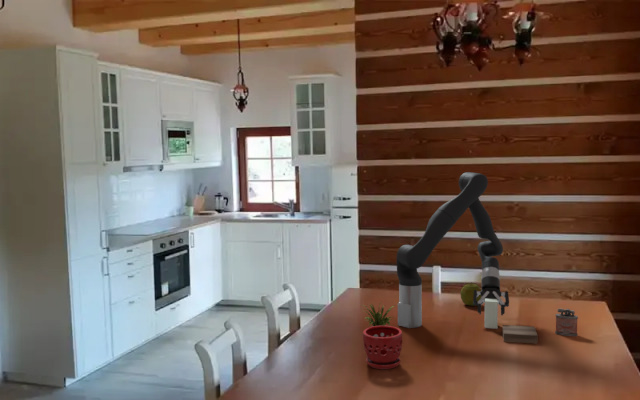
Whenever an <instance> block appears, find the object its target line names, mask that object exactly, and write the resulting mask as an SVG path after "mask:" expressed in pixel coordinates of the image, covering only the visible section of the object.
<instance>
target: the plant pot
mask: <svg viewBox="0 0 640 400" xmlns="http://www.w3.org/2000/svg"><path fill="white" fill-rule="evenodd" d="M372 326H373V325H372ZM372 326H368V327H367V328H365V329H364V330H363V331H362V338H363V347H364V348H363V349H364V351H365V354H366V358H365V359H366V360H365V361H366V363H367V365H368V366H370V367H371V368H374V369H379V370H390V369H394V368H396V367H398V366H399V365H400V363H401V358H400V355H401V353H402V348H403V331H402V330H401V329H400V328H399V327H396V326H392V325H390V326H389V325H385V326H373V327H372ZM381 333H384V336H381V335H380V334H381ZM375 334H376V335H378V337H374V335H375Z"/></svg>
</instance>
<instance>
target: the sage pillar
mask: <svg viewBox="0 0 640 400" xmlns="http://www.w3.org/2000/svg"><path fill="white" fill-rule="evenodd" d="M498 309H499V304H498V300H497V299H488V298H485V302H484V328H485V329H494V330H495V329H498V328H499V327H498V321H499V320H498V314H499V313H498V312H499V311H498Z"/></svg>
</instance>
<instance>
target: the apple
mask: <svg viewBox="0 0 640 400" xmlns="http://www.w3.org/2000/svg"><path fill="white" fill-rule="evenodd" d="M474 290H477V291H479V292H481V286H479V284H476V283H472V281H471V282H470V283H467V284H465V285H463V287H462V288H461V290H460V299H461V301H462V303H463V304H464V305H467V306H469V307H475V306H477V305H473V296H474ZM481 297H482V296H481V295H479V296H478V297H477V299H476V301H479V300H480V299H481Z"/></svg>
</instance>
